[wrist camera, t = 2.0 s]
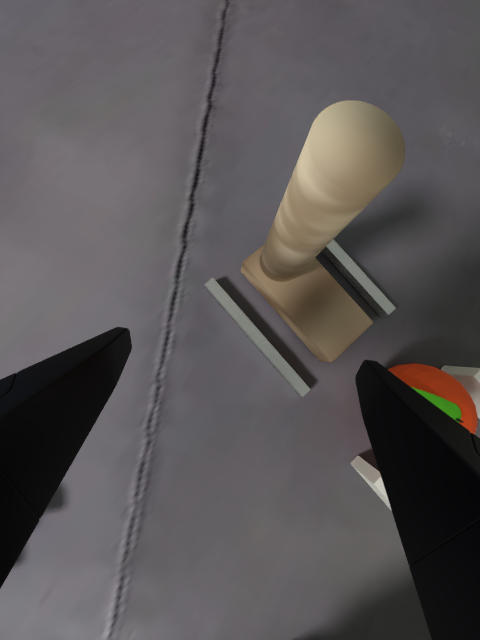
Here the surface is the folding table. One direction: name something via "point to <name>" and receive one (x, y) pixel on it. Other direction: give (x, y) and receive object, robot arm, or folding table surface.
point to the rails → (271, 354)
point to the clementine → (440, 391)
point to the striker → (325, 223)
